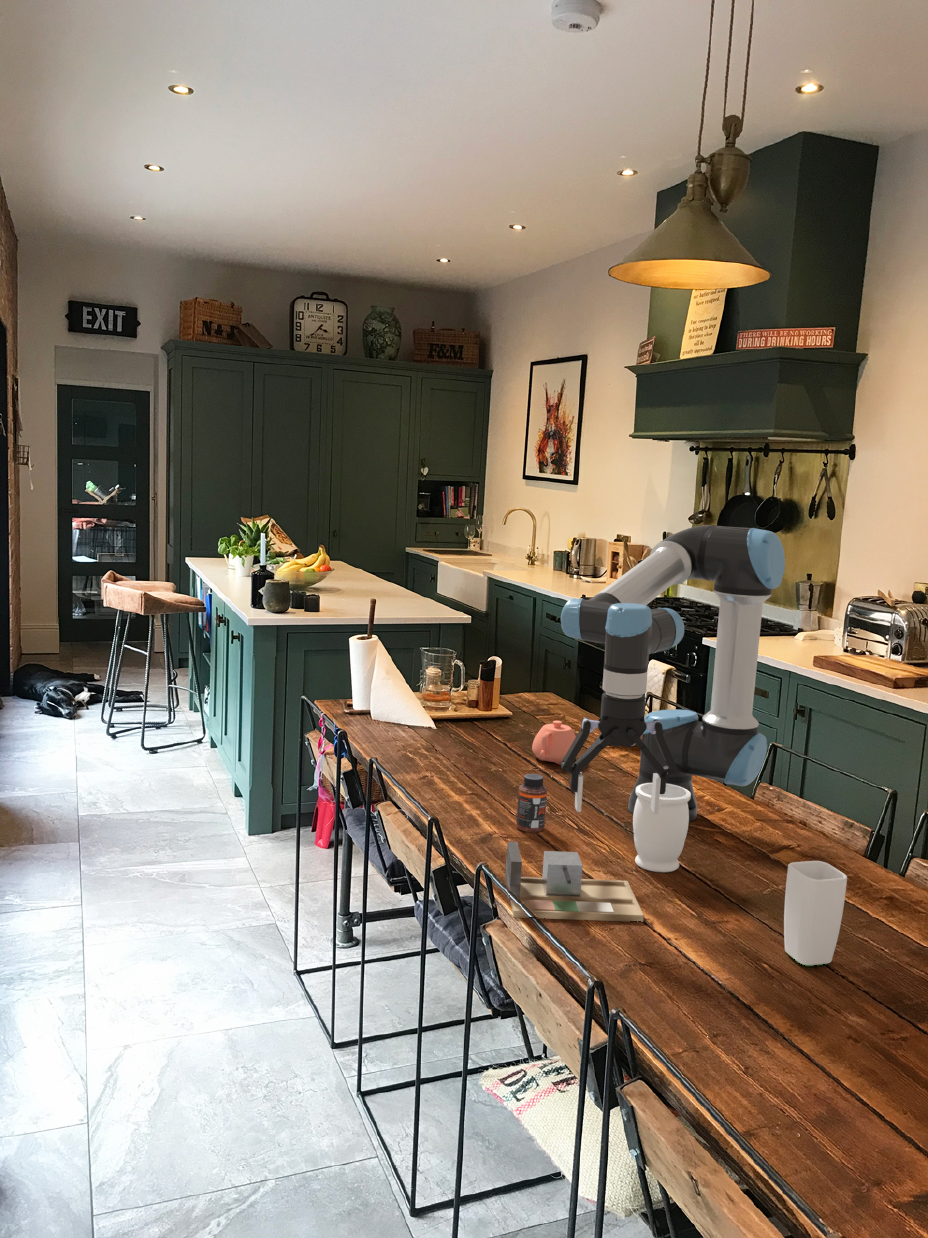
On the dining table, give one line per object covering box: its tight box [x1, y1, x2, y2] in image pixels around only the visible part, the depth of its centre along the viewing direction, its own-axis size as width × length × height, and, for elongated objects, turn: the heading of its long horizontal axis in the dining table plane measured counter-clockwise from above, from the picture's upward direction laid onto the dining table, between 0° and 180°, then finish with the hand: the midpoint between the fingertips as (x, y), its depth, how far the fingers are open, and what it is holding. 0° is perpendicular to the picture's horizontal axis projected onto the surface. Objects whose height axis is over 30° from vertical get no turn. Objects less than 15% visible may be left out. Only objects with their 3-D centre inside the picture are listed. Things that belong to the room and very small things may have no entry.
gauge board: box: [504, 841, 645, 923], centre depth 173 cm, size 22×14×8 cm, turn 92°
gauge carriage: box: [541, 850, 583, 897], centre depth 172 cm, size 6×11×6 cm, turn 2°
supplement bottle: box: [515, 773, 548, 833], centre depth 208 cm, size 6×6×11 cm
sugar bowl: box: [531, 720, 580, 765], centre depth 257 cm, size 12×14×10 cm
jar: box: [632, 783, 691, 873], centre depth 191 cm, size 11×10×15 cm
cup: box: [783, 860, 848, 967], centre depth 157 cm, size 7×7×15 cm
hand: (616, 810), depth 175 cm, fingers open, 13 cm apart
